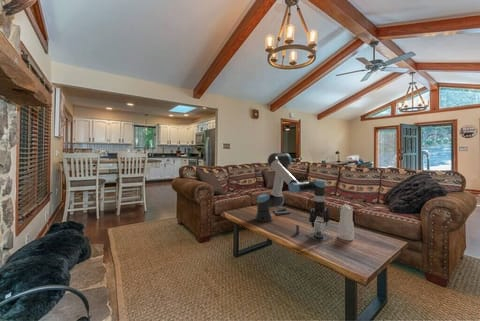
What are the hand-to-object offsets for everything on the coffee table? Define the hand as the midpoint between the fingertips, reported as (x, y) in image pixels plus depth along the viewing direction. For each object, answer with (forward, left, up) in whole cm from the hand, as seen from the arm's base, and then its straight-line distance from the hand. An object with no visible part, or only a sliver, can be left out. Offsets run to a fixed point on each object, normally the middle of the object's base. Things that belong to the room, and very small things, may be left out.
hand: (319, 230), depth 163 cm
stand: (-12, -10, -6) cm, 17 cm away
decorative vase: (+10, +18, -6) cm, 21 cm away
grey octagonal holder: (0, 0, +1) cm, 1 cm away
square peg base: (0, 0, -6) cm, 6 cm away
